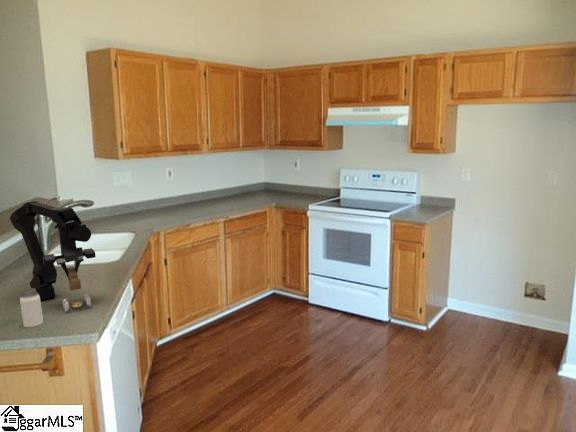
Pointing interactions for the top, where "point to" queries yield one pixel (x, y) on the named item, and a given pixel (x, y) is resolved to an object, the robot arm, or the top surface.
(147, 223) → the top surface
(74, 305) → the yellow-brown curved piece
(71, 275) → the brown rectangular block
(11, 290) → the top surface
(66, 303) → the pair of rounded blocks
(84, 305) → the mat
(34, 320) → the can
